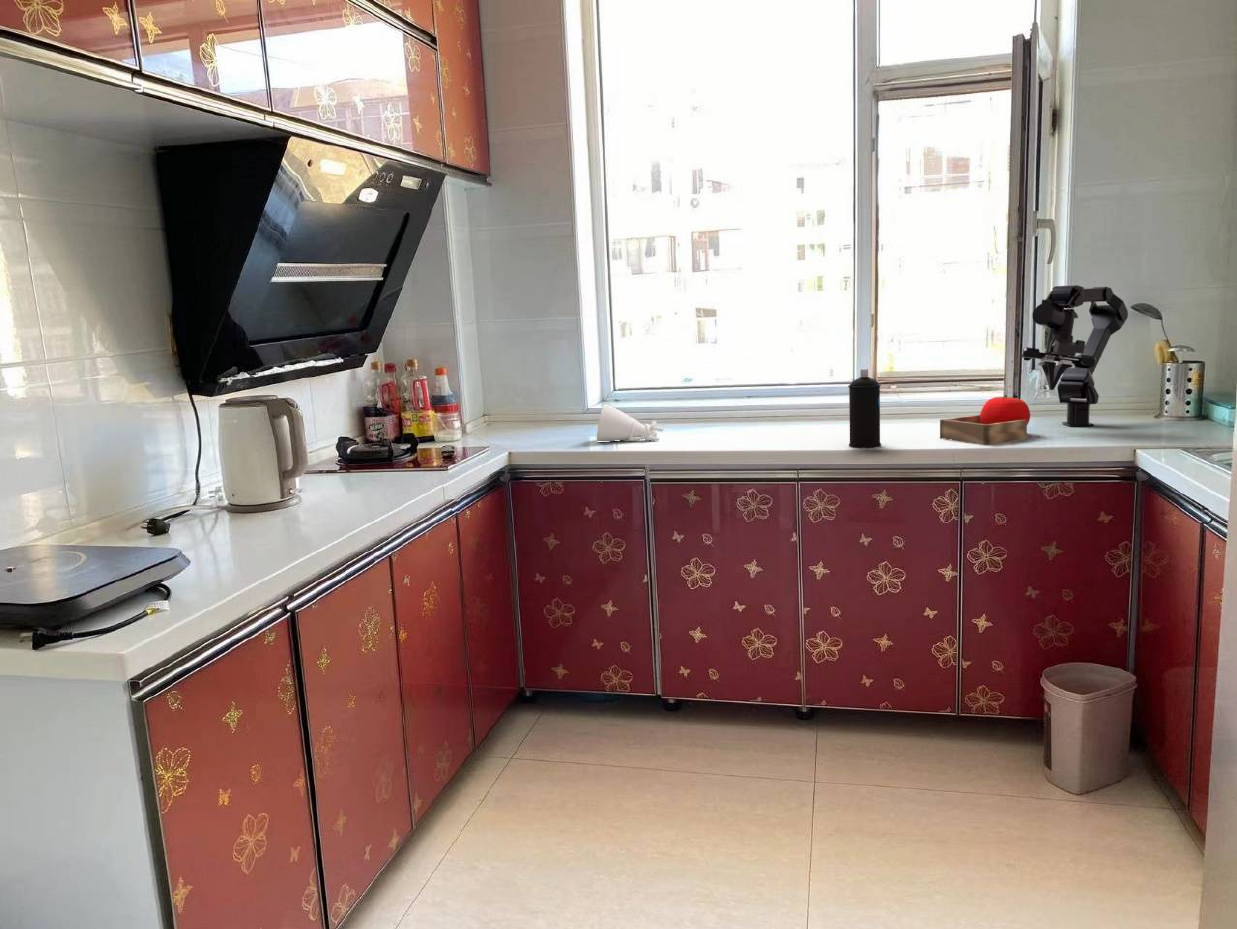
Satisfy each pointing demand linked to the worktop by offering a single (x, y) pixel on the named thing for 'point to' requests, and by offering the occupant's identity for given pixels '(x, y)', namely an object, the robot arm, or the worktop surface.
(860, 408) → the aerosol can
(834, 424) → the worktop surface
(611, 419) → the rocket engine
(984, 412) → the tomato
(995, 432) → the tray
